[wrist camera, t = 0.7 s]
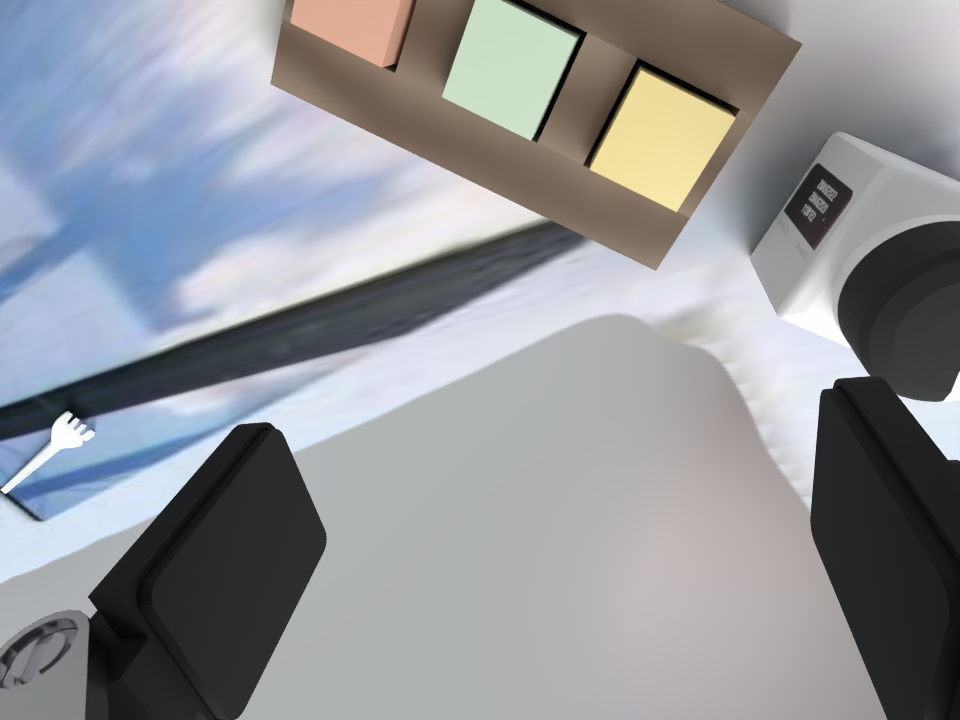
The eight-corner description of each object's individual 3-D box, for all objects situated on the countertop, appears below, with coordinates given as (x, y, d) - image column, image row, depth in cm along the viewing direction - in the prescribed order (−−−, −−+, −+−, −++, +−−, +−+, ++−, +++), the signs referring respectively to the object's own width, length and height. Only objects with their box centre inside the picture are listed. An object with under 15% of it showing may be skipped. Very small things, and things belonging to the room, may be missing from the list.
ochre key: (639, 64, 29) (640, 70, 27) (726, 107, 29) (736, 118, 27) (592, 155, 32) (589, 169, 29) (672, 195, 32) (676, 212, 29)
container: (745, 258, 34) (803, 379, 24) (833, 127, 30) (952, 199, 19) (868, 310, 35) (981, 454, 24) (972, 186, 30) (1169, 291, 19)
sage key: (491, -10, 29) (479, -11, 26) (580, 34, 29) (576, 38, 27) (456, 89, 31) (441, 97, 29) (538, 129, 32) (530, 140, 29)
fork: (-5, 476, 62) (-21, 489, 60) (81, 396, 52) (64, 409, 51) (22, 496, 63) (7, 509, 61) (111, 421, 53) (96, 435, 52)
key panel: (350, -182, 28) (323, -200, 25) (786, 39, 29) (802, 44, 26) (296, 77, 34) (270, 84, 32) (653, 251, 35) (655, 270, 33)
